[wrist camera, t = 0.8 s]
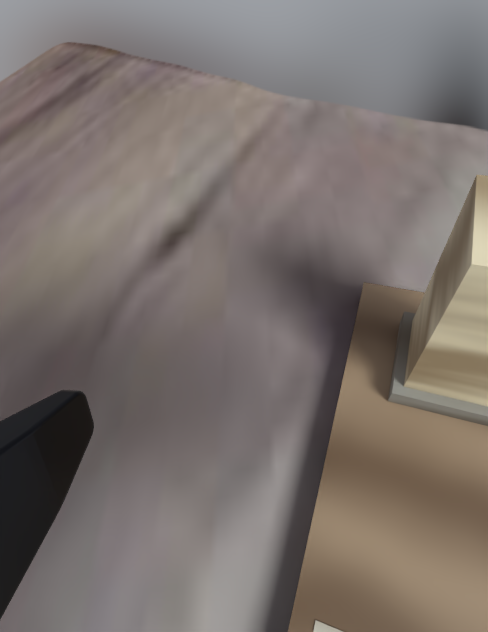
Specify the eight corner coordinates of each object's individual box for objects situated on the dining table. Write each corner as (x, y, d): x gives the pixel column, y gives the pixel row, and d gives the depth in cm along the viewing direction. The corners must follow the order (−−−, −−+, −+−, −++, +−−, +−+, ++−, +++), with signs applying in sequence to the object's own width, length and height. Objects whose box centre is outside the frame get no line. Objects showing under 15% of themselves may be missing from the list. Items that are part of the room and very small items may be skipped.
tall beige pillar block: (492, 427, 20) (660, 307, 10) (387, 401, 21) (452, 274, 12) (494, 340, 22) (633, 179, 13) (399, 322, 23) (461, 164, 14)
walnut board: (550, 962, 13) (579, 1009, 11) (252, 794, 15) (247, 816, 14) (531, 326, 24) (544, 312, 22) (361, 295, 26) (363, 281, 25)
